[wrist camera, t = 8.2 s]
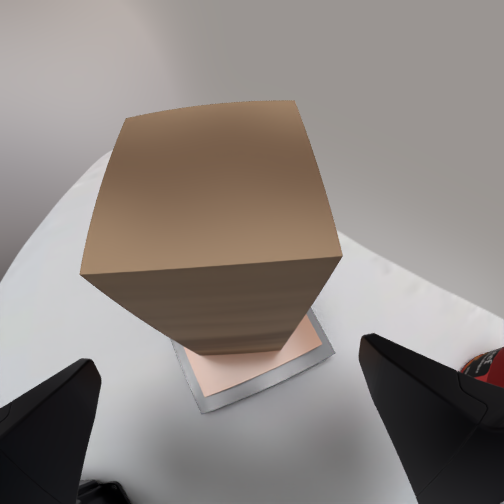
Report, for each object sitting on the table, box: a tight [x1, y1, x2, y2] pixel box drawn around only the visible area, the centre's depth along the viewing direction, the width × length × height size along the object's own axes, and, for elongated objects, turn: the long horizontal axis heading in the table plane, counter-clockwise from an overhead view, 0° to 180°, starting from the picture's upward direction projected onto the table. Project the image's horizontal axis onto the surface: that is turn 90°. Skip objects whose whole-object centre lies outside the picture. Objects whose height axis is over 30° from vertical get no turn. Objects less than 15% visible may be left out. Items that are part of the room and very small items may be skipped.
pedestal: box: [170, 307, 335, 414], centre depth 19 cm, size 10×10×4 cm
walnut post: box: [80, 101, 343, 356], centre depth 12 cm, size 5×5×13 cm
